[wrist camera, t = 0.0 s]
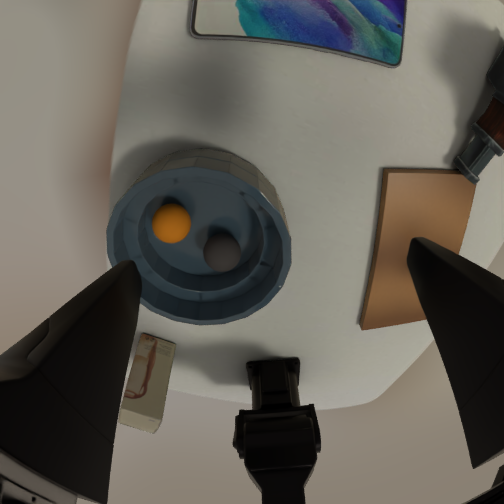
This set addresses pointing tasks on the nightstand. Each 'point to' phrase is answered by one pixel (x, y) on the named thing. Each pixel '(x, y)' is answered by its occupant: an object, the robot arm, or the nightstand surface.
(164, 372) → the printed cardboard carton
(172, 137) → the nightstand surface
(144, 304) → the bowl
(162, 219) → the amber bead
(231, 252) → the grey bead
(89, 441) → the robot arm
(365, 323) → the copper rest
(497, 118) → the gun
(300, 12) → the smartphone
